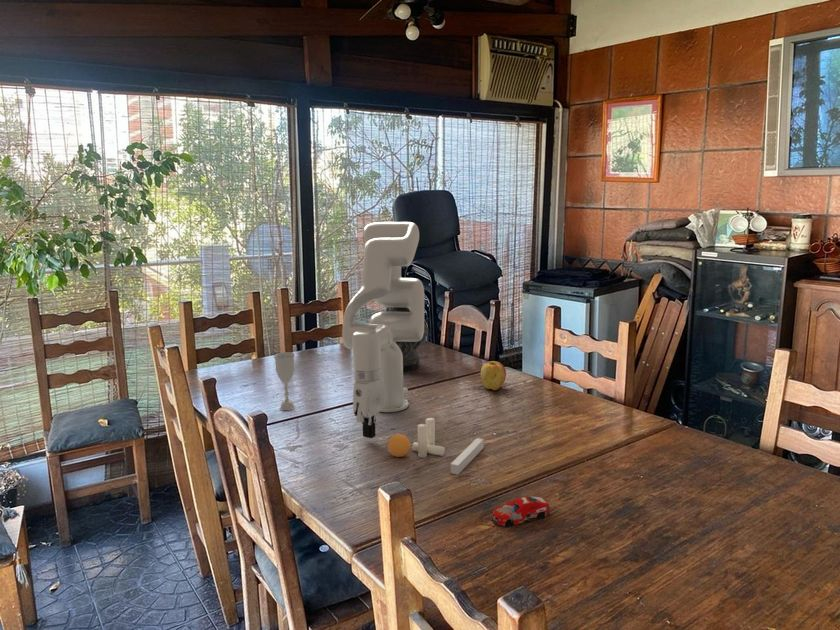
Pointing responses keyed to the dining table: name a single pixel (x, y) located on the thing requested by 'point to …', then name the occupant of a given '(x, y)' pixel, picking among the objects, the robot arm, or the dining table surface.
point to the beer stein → (410, 346)
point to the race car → (521, 511)
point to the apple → (493, 375)
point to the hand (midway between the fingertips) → (369, 436)
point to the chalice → (285, 375)
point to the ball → (399, 445)
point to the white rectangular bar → (467, 456)
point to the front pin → (431, 449)
